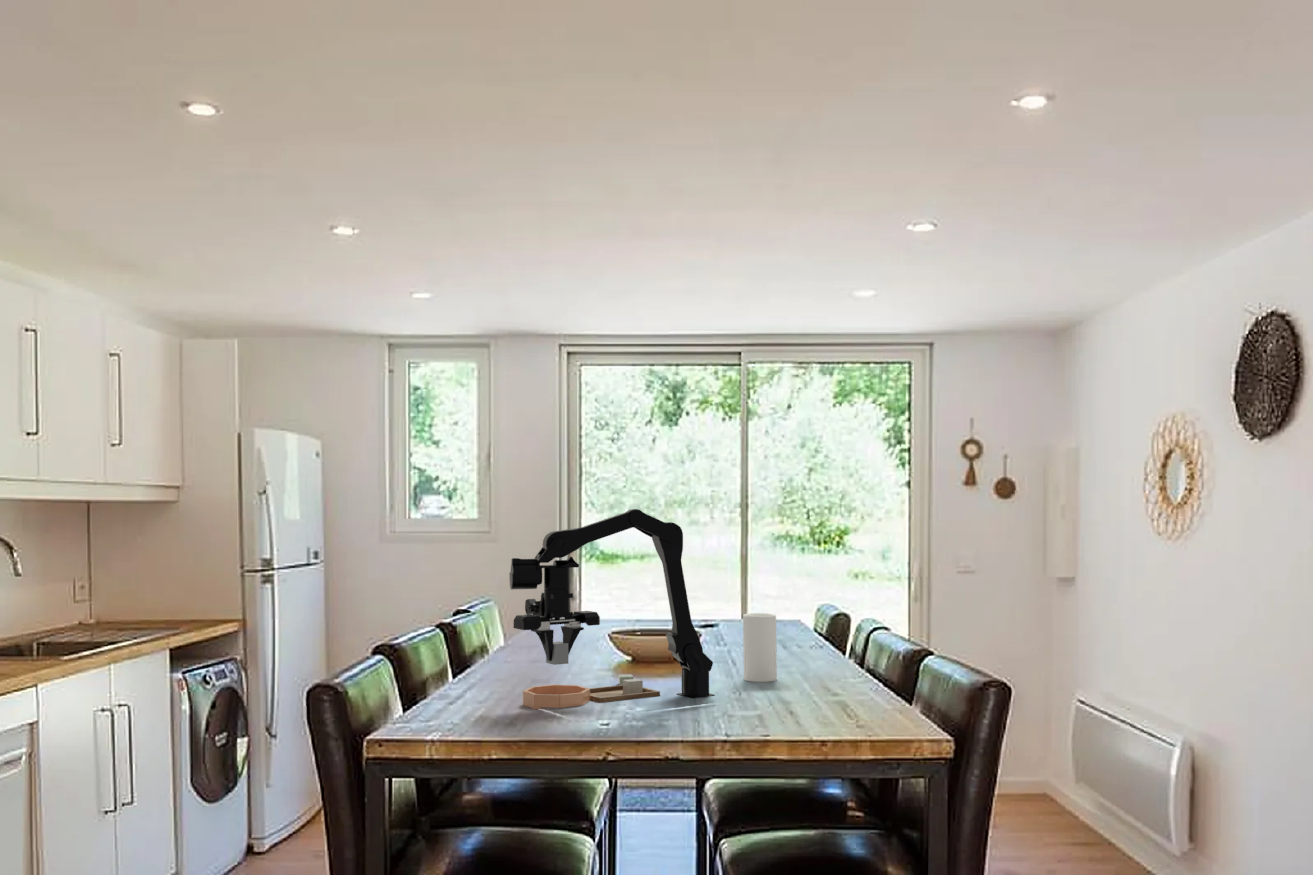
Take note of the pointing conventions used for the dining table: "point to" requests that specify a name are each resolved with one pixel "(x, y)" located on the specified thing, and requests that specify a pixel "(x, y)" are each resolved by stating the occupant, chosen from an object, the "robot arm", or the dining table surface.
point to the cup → (759, 647)
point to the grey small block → (632, 686)
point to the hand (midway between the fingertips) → (557, 660)
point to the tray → (618, 694)
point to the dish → (555, 696)
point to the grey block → (559, 653)
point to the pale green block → (624, 678)
